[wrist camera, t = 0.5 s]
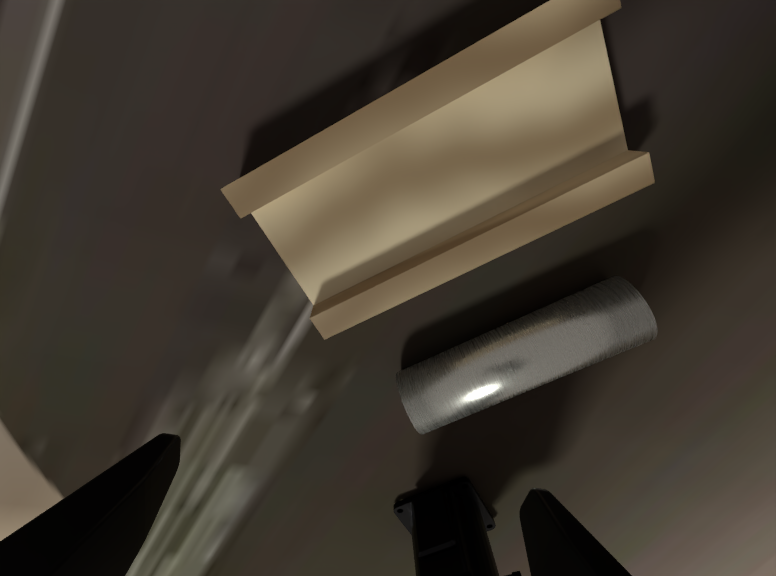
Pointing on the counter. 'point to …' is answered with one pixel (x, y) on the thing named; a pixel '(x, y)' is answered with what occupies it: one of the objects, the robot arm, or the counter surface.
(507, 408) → the counter surface
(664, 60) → the counter surface
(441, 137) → the cradle
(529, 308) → the counter surface
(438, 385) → the axle
